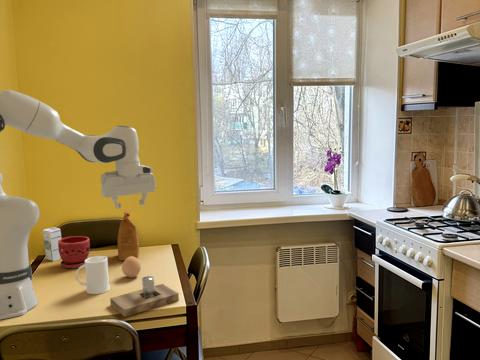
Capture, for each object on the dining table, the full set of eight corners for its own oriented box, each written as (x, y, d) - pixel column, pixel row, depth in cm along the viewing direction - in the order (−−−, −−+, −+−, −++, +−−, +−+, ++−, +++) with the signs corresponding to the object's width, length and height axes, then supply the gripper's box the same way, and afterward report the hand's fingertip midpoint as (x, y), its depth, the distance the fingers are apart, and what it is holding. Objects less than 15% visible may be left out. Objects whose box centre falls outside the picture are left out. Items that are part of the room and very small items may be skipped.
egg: (136, 280, 172) (135, 259, 171) (119, 279, 174) (118, 259, 173) (144, 274, 179) (143, 254, 178) (127, 273, 181) (126, 253, 180)
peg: (146, 303, 150) (144, 281, 148) (142, 299, 153) (140, 277, 152) (157, 300, 152) (155, 278, 150) (153, 296, 155) (151, 275, 154)
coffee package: (140, 252, 210) (138, 207, 207) (139, 260, 198) (136, 212, 195) (119, 253, 208) (116, 208, 205) (116, 261, 196) (113, 214, 193)
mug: (77, 297, 157) (75, 265, 155) (76, 289, 165) (74, 259, 163) (111, 291, 162) (109, 260, 160) (108, 284, 169) (106, 254, 168)
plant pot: (73, 272, 184) (71, 244, 183) (53, 267, 191) (51, 241, 189) (97, 262, 196) (95, 237, 194) (77, 258, 202) (75, 233, 200)
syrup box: (63, 258, 204) (61, 228, 202) (52, 261, 199) (49, 230, 197) (56, 256, 207) (53, 226, 205) (45, 259, 202) (42, 229, 200)
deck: (124, 317, 140) (124, 309, 140) (110, 305, 150) (110, 298, 149) (178, 300, 152) (178, 293, 152) (162, 290, 162) (162, 283, 161)
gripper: (103, 173, 152) (106, 211, 154) (156, 167, 164) (158, 203, 166) (97, 171, 157) (100, 209, 159) (149, 166, 169) (151, 201, 171)
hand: (130, 206), depth 163 cm, fingers open, 8 cm apart
